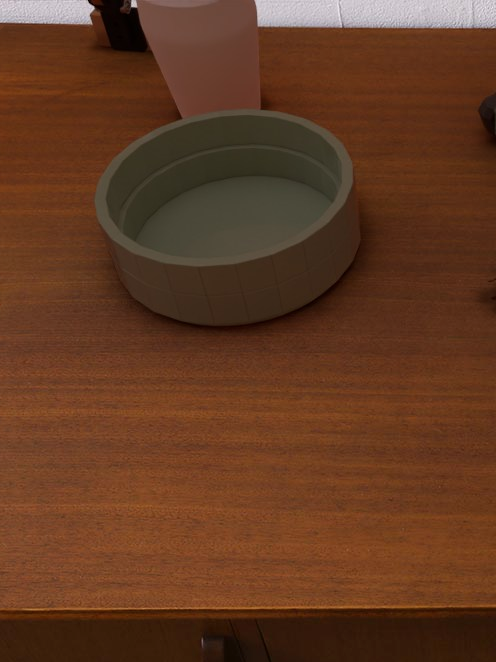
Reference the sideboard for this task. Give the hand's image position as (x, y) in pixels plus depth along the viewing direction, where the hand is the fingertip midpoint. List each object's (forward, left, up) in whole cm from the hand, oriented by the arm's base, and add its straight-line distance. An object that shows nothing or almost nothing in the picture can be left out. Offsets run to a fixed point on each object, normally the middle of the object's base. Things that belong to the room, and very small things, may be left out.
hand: (151, 21), depth 92 cm
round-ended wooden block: (0, 0, -2) cm, 2 cm away
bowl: (+17, -26, -2) cm, 31 cm away
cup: (+10, -10, -3) cm, 14 cm away
